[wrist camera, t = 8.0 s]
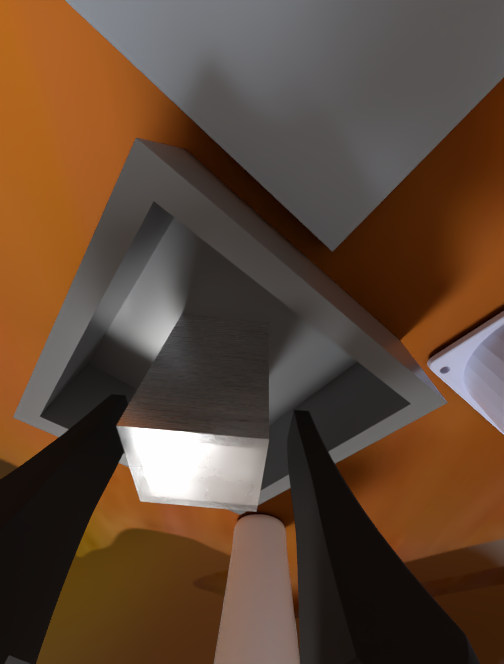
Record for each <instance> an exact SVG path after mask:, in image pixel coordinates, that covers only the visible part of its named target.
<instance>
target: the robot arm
mask: <svg viewBox="0 0 504 664" xmlns="http://www.w3.org/2000/svg"><path fill="white" fill-rule="evenodd" d="M427 365H428V367H429V368H430V369H431V370H432V371H433V372H434V373H435V374H436V375H437V376H438V377H440V378H441V379H442V380H443V381H444V382H445V383H446V384H447V385H449V386H450V387H451V388H452V389H453V390H454V391H455V392H456V393H458V394H459V395H460V396H461V397H462V398H463V399H464V400H465V401H467V402H468V403H469V404H470V405H471V406H472V407H473V408H474V409H476V410H477V411H478V412H479V413H480V414H481V415H482V416H483V417H485V418H486V419H487V420H488V421H489V422H490V423H491V424H492V425H494V426H495V427H496V428H497V429H498V430H499V431H500V432H501V433H503V434H504V311H503V312H501V313H499V314H498V315H496V316H495V317H493V318H492V319H490V320H488V321H487V322H485V323H484V324H482V325H481V326H479V327H478V328H476V329H474V330H473V331H471V332H470V333H468V334H467V335H465V336H464V337H462V338H460V339H459V340H457V341H456V342H454V343H453V344H451V345H449V346H448V347H446V348H445V349H443V350H442V351H440V352H439V353H437V354H435V355H434V356H432V357H431V358H430V359H429V360H428V362H427ZM443 367H444V368H443ZM441 368H442V369H441ZM127 406H128V402H127V399H126V395H117V394H111V395H110V396H109V397H107V398H106V399H105V400H104V401H102V402H101V403H100V404H99V405H98V406H96V407H95V408H94V409H93V410H92V411H90V412H89V413H88V414H87V415H86V416H84V417H83V418H82V419H81V420H80V421H78V422H77V423H76V424H75V425H74V426H72V427H71V428H70V429H69V430H67V431H66V432H65V433H64V434H62V435H61V436H60V437H59V438H57V439H56V440H55V441H54V442H52V443H51V444H50V445H48V446H47V447H46V448H44V449H43V450H42V451H40V452H39V453H38V454H36V455H35V456H34V457H32V458H31V459H30V460H28V461H27V462H25V463H24V464H23V465H21V466H20V467H18V468H17V469H15V470H14V471H12V472H11V473H9V474H8V475H7V476H5V477H4V478H2V479H0V664H36V661H37V658H38V655H39V652H40V649H41V646H42V643H43V640H44V637H45V635H46V631H47V629H48V626H49V623H50V620H51V617H52V614H53V611H54V609H55V606H56V603H57V601H58V598H59V595H60V592H61V590H62V587H63V584H64V582H65V579H66V576H67V574H68V571H69V569H70V566H71V564H72V561H73V559H74V556H75V554H76V551H77V549H78V546H79V544H80V541H81V539H82V536H83V534H84V532H85V529H86V527H87V525H88V522H89V520H90V518H91V515H92V513H93V511H94V509H95V507H96V505H97V503H98V501H99V499H100V497H101V496H102V494H103V492H104V490H105V488H106V486H107V484H108V482H109V480H110V478H111V476H112V475H113V473H114V471H115V469H116V467H117V465H118V463H119V461H120V459H121V457H122V455H123V453H124V449H123V445H122V442H121V439H120V436H119V433H118V430H117V427H116V425H117V423H118V422H119V420H120V418H121V417H122V415H123V413H124V412H125V410H126V408H127ZM287 458H288V471H289V479H290V487H291V495H292V503H293V511H294V519H295V529H296V542H297V564H298V591H299V626H300V664H480V662H479V660H478V658H477V656H476V654H475V653H474V650H473V648H472V646H471V644H470V643H469V641H468V639H467V637H466V635H465V633H464V632H463V631H462V630H461V629H460V628H459V627H458V626H457V624H456V623H455V622H454V621H453V620H452V619H451V618H450V617H449V616H448V614H447V613H446V612H445V611H444V610H443V609H442V608H441V607H440V605H439V604H438V603H437V602H436V601H435V600H434V599H433V597H432V596H431V595H430V594H429V593H428V592H427V591H426V589H425V588H424V587H423V586H422V585H421V583H420V582H419V581H418V580H417V579H416V577H415V576H414V575H413V574H412V573H411V572H410V570H409V569H408V568H407V567H406V566H405V564H404V563H403V562H402V560H401V559H400V558H399V557H398V555H397V554H396V553H395V551H394V550H393V549H392V548H391V546H390V545H389V544H388V543H387V541H386V540H385V539H384V537H383V536H382V535H381V534H380V532H379V531H378V529H377V528H376V527H375V525H374V524H373V523H372V521H371V520H370V518H369V517H368V516H367V514H366V513H365V511H364V510H363V508H362V507H361V505H360V504H359V502H358V501H357V499H356V498H355V496H354V495H353V493H352V492H351V490H350V489H349V487H348V485H347V484H346V482H345V480H344V479H343V477H342V475H341V474H340V472H339V470H338V469H337V467H336V465H335V463H334V461H333V460H332V458H331V456H330V454H329V452H328V450H327V448H326V446H325V445H324V443H323V441H322V438H321V436H320V434H319V432H318V430H317V428H316V426H315V423H314V421H313V419H312V416H311V414H310V412H309V411H303V410H294V411H293V416H292V420H291V425H290V429H289V433H288V438H287Z"/></svg>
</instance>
